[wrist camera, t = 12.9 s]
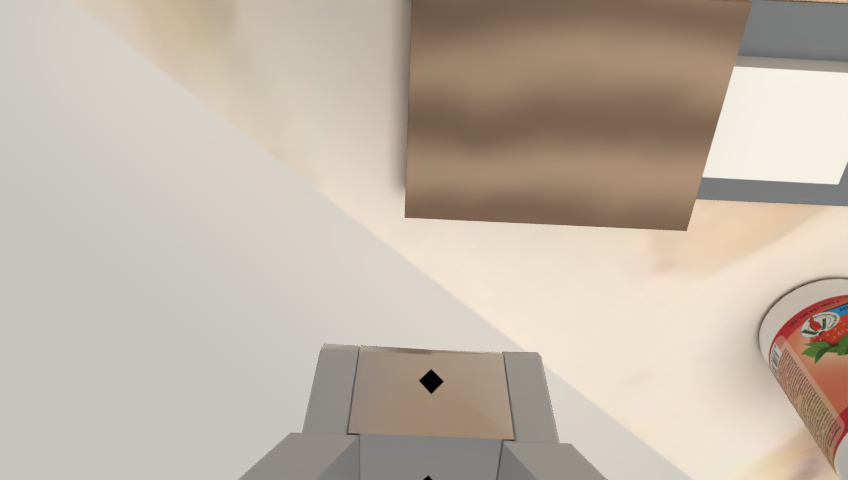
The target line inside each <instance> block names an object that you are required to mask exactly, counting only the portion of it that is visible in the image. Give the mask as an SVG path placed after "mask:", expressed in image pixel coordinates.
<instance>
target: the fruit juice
mask: <svg viewBox="0 0 848 480" xmlns="http://www.w3.org/2000/svg"><path fill="white" fill-rule="evenodd" d="M759 344H760V350H761V353H762V355H763V357H764V360H765V362H766V364H767V365H768V367H769V368H770V370H771V372H772V373H773V375H774V376H775V378H776V379H777V381H778V383H779V384H780V386H781V387H782V389H783V390H784V392H785V394H786V395H787V397H788V398H789V400H790V402H791V403H792V405H793V406H794V408H795V409H796V411H797V413H798V414H799V416H800V417H801V419H802V420H803V422H804V424H805V425H806V427H807V428H808V430H809V432H810V433H811V435H812V436H813V438H814V439H815V441H816V443H817V444H818V446H819V447H820V449H821V450H822V452H823V454H824V455H825V457H826V458H827V460H828V461H829V463H830V465H831V466H832V468H833V469H834V471H835V473H836V474H837V476H838V478H839V479H840V480H848V280H847V279H827V280H821V281H817V282H813V283H810V284H807V285H804V286H802V287H800V288H798V289H796V290H794V291H792V292H790V293H789V294H787V295H786V296H784V297H783V298H782V299H781V300H779V301H778V302H777V303H776V304H775V305H774V306H773V307H772V308H771V310H770V311H769V312H768V314H767V315H766V317H765V318H764V320H763V322H762V325H761V328H760V333H759Z"/></svg>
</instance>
